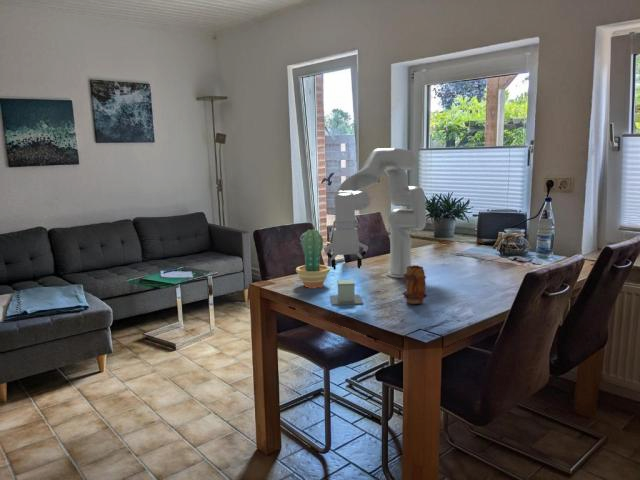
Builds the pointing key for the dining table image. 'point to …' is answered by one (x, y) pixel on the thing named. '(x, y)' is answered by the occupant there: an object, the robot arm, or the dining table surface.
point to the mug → (415, 285)
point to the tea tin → (346, 290)
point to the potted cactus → (312, 260)
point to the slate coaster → (336, 301)
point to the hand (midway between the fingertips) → (346, 268)
